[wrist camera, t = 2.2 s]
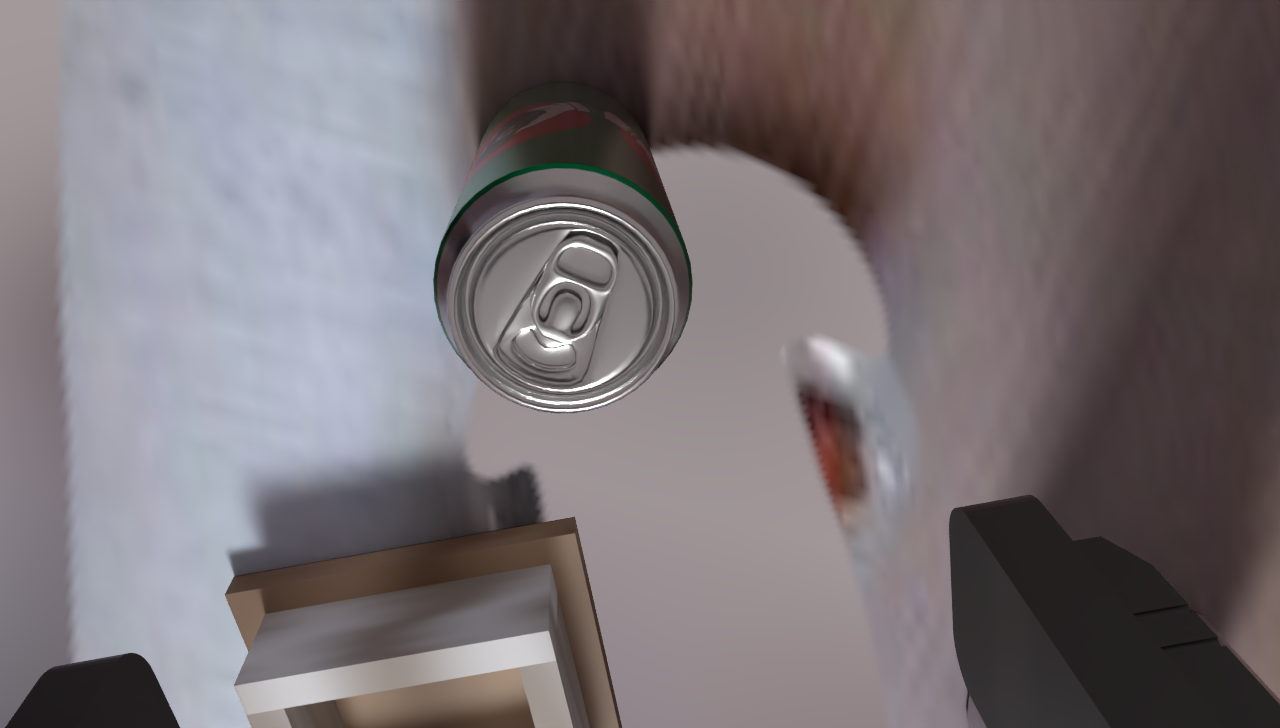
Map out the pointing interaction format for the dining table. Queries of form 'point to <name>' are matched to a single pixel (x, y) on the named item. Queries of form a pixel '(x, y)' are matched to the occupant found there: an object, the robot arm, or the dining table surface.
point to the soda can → (563, 255)
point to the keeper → (428, 637)
